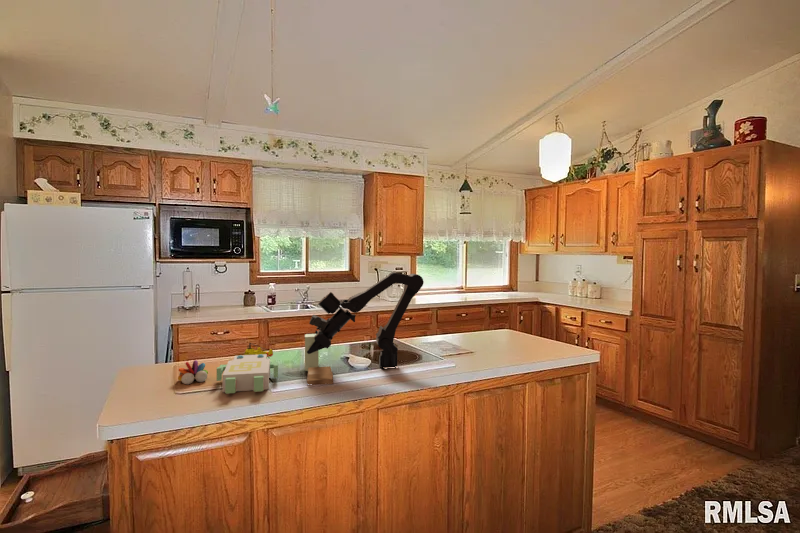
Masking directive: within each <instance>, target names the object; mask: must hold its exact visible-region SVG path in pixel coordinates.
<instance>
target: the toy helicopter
mask: <svg viewBox="0 0 800 533" xmlns="http://www.w3.org/2000/svg"><path fill="white" fill-rule="evenodd" d="M251 345H253V346H254V347H255V346H256V347H257V349H254V348H253V347H252V346H251ZM262 349H263V350H262ZM260 354H267V359H270V357H273V355H274V351H273V349H272V348H270V349H269V350H268V349H267V348H265V347H262V346H259V345H257V344H254V343H251V342H249V344H248V347H247V348H246V349H245V350H244V353H243V355H260Z"/></svg>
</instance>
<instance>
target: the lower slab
mask: <svg viewBox="0 0 800 533" xmlns="http://www.w3.org/2000/svg"><path fill="white" fill-rule="evenodd" d="M333 374H334V373H333V371H332V379H328V380H312V381H309V378H308V372H307V375H306V384H307V383H308V384H312V385H311V386H317V385H321V386H322V385H334V375H333Z"/></svg>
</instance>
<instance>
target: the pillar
mask: <svg viewBox="0 0 800 533" xmlns="http://www.w3.org/2000/svg"><path fill="white" fill-rule="evenodd" d="M315 335H316V334H315V333H306V334H305V333H304V372H308V368H312V367H320V366H319V364H320V363H319V350H318V351H315V352H313V353H311V354H308V353H307V351H308V350H309V348H310V347H311V345H312V344H313V343H314V341H315Z"/></svg>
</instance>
